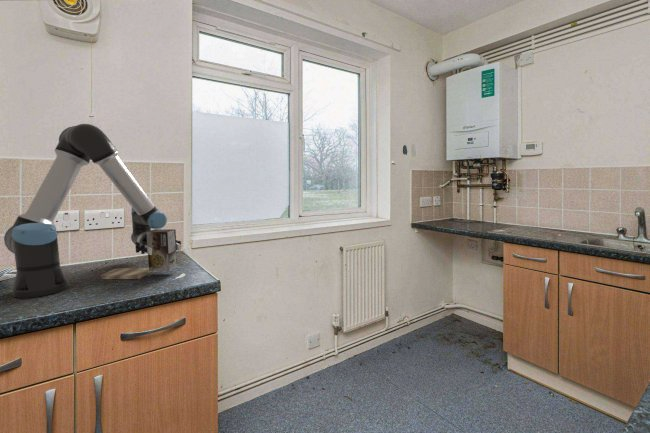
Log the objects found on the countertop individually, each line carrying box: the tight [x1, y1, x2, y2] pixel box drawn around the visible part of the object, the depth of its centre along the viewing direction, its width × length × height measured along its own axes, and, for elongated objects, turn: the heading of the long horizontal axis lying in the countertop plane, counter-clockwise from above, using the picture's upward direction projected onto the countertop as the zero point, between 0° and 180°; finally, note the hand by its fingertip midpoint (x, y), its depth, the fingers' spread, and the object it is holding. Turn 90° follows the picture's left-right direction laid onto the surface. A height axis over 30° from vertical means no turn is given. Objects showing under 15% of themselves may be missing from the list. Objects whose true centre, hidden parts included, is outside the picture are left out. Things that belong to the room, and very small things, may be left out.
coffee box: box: [146, 228, 178, 272], centre depth 137 cm, size 9×6×16 cm
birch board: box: [100, 267, 153, 280], centre depth 137 cm, size 15×10×2 cm, turn 91°
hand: (165, 249), depth 134 cm, fingers closed on coffee box, 10 cm apart
